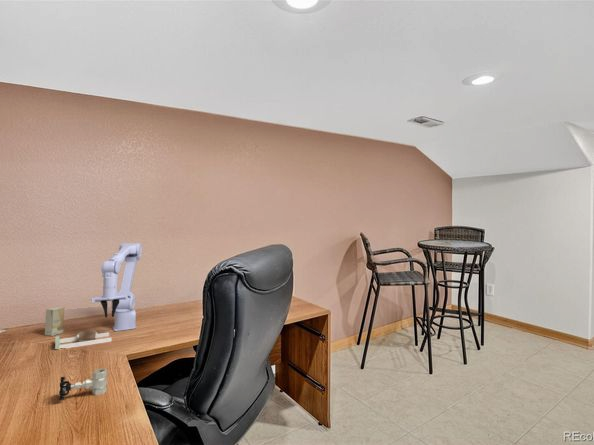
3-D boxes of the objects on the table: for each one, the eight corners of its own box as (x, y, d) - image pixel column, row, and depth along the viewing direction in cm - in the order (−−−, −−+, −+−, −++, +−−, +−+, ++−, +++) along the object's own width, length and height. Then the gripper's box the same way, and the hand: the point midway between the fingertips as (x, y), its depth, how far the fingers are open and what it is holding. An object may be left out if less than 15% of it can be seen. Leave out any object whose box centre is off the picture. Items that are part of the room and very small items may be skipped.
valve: (106, 386, 108) (61, 395, 102) (107, 365, 108) (62, 373, 102) (107, 395, 102) (58, 405, 96) (107, 373, 102) (59, 381, 96)
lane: (107, 332, 163) (107, 326, 163) (111, 341, 150) (111, 334, 151) (55, 340, 151) (55, 333, 151) (55, 350, 139) (55, 342, 139)
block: (94, 339, 153) (94, 329, 154) (95, 342, 149) (95, 332, 149) (78, 341, 150) (79, 331, 150) (79, 344, 146) (79, 334, 146)
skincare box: (52, 336, 156) (53, 309, 157) (44, 335, 157) (45, 309, 158) (64, 332, 163) (65, 306, 163) (56, 331, 164) (57, 306, 164)
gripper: (92, 289, 148) (91, 320, 147) (129, 286, 156) (128, 316, 156) (91, 287, 153) (90, 317, 153) (126, 284, 162) (125, 313, 161)
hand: (109, 316), depth 155 cm, fingers closed
